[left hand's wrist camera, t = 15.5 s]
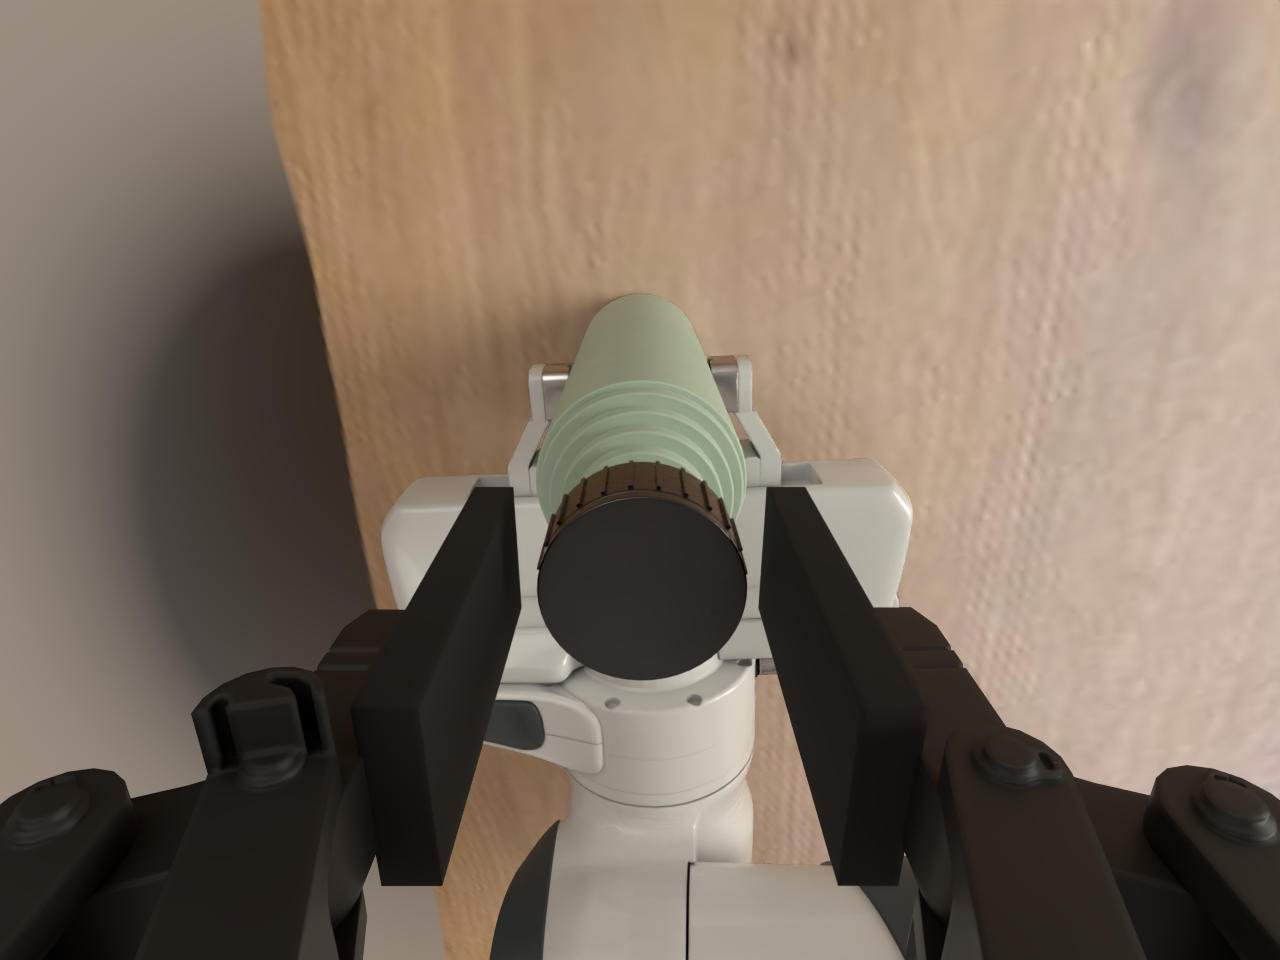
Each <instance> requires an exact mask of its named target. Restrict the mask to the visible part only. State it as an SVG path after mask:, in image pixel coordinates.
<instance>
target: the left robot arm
mask: <svg viewBox="0 0 1280 960" xmlns="http://www.w3.org/2000/svg"><path fill="white" fill-rule="evenodd" d="M521 609H522V604H521V590H520V575H519V561H518V546H517V532H516V517H515V502H514V488H513V487H474V489H473V491H472V492H471V494H470V496H469V498H468V499H467V501H466V503H465V505H464V506H463V508H462V510H461V512H460V514H459V515H458V517H457V519H456V521H455V522H454V524H453V526H452V528H451V529H450V531H449V533H448V535H447V537H446V538H445V540H444V542H443V544H442V545H441V547H440V549H439V551H438V552H437V554H436V556H435V558H434V560H433V561H432V563H431V565H430V567H429V568H428V570H427V572H426V574H425V575H424V577H423V579H422V581H421V582H420V584H419V586H418V588H417V590H416V591H415V593H414V595H413V597H412V598H411V600H410V602H409V604H408V605H407V607H406V609H405V610H368V611H367V612H365V613H364V614H362V615H361V616H360V617H358V618H357V619H355V620H354V621H353V622H351V623H350V624H348V625H347V626H346V627H344V628H343V630H342V631H341V633H340V634H339V636H338V637H337V639H336V640H335V642H334V643H333V644H332V646H331V647H330V652H329V653H326V655H325V656H324V658H323V659H322V661H321V662H320V664H319V665H318V670H317V671H314V672H312V671H308V670H304V669H300V668H296V667H277V668H268V669H264V670H260V671H255V672H251V673H247V674H245V675H242V676H240V677H238V678H235V679H233V680H231V681H229V682H226V683H224V684H222V685H221V686H219V687H218V688H217V689H215V690H214V691H212V692H211V693H210V694H208V695H207V696H205V697H204V698H203V699H202V700H201V702H200V703H199V704H198V705H197V707H196V708H195V709H194V710H193V712H192V713H191V715H192V718H193V722H194V726H195V729H196V733H197V736H198V740H199V744H200V747H201V751H202V754H203V758H204V762H205V765H206V769H207V773H208V775H207V778H206V780H204V781H201V782H198V783H195V784H191V785H188V786H183V787H179V788H175V789H171V790H166V791H162V792H157V793H153V794H148V795H144V796H140V797H136V798H130V795H129V792H128V789H127V786H126V783H125V781H124V780H123V779H122V778H121V777H120V776H119V775H117V774H116V773H115V772H114V771H108V770H102V769H95V768H93V769H85V770H78V771H70V772H66V773H63V774H60V775H57V776H54V777H51V778H48V779H45V780H42V781H39V782H37V783H35V784H33V785H32V786H30V787H28V788H26V789H24V790H22V791H20V792H18V793H16V794H15V795H13V796H11V797H9V798H8V799H7V800H5V801H4V802H3V803H2V804H0V960H363V951H364V942H365V932H366V922H367V913H366V906H365V899H364V894H363V889H362V887H363V885H364V882H365V880H366V877H367V875H368V872H369V870H370V867H371V865H372V862H373V860H374V857H375V855H376V858H377V863H378V869H379V875H380V880H381V885H382V886H442V885H443V881H444V878H445V874H446V871H447V867H448V864H449V860H450V857H451V853H452V850H453V846H454V843H455V839H456V836H457V832H458V829H459V825H460V822H461V818H462V815H463V811H464V808H465V804H466V801H467V797H468V794H469V790H470V787H471V783H472V780H473V776H474V773H475V769H476V766H477V762H478V759H479V755H480V752H481V748H482V745H483V741H484V738H485V734H486V731H487V727H488V724H489V720H490V717H491V713H492V710H493V706H494V703H495V699H496V696H497V692H498V689H499V686H500V682H501V679H502V675H503V672H504V668H505V665H506V661H507V658H508V654H509V651H510V647H511V644H512V640H513V637H514V633H515V630H516V626H517V623H518V619H519V616H520V612H521ZM758 609H759V612H760V616H761V619H762V623H763V626H764V630H765V633H766V637H767V640H768V644H769V647H770V651H771V654H772V658H773V661H774V665H775V668H776V672H777V675H778V679H779V682H780V686H781V689H782V693H783V696H784V700H785V703H786V706H787V710H788V713H789V717H790V720H791V724H792V727H793V731H794V734H795V738H796V741H797V745H798V748H799V752H800V755H801V759H802V762H803V766H804V769H805V773H806V776H807V780H808V783H809V787H810V790H811V794H812V797H813V801H814V804H815V808H816V811H817V815H818V818H819V822H820V825H821V829H822V832H823V836H824V839H825V843H826V846H827V850H828V853H829V857H830V860H831V864H832V867H833V871H834V874H835V878H836V881H837V885H838V886H899V880H900V875H901V869H902V863H903V858H904V852H905V854H906V856H907V859H908V861H909V864H910V866H911V869H912V871H913V874H914V876H915V879H916V881H917V884H918V889H917V894H916V899H915V905H914V910H913V915H912V920H911V925H910V930H909V936H908V941H907V947H906V954H905V960H915V956H916V951H917V960H1280V800H1279V799H1278V798H1276V797H1275V796H1274V795H1272V794H1271V793H1269V792H1267V791H1265V790H1263V789H1261V788H1259V787H1258V786H1256V785H1254V784H1252V783H1250V782H1248V781H1246V780H1244V779H1242V778H1239V777H1236V776H1234V775H1231V774H1227V773H1225V772H1221V771H1218V770H1215V769H1212V768H1204V767H1197V766H1189V765H1185V766H1179V767H1172V768H1167V769H1166V770H1165V771H1164V772H1162V773H1161V774H1160V775H1159V776H1158V777H1157V778H1156V780H1155V783H1154V786H1153V789H1152V792H1151V795H1146V794H1141V793H1137V792H1132V791H1128V790H1123V789H1119V788H1115V787H1110V786H1106V785H1101V784H1097V783H1093V782H1089V781H1086V780H1083V779H1079V778H1076V777H1073V774H1072V772H1071V771H1070V769H1069V768H1068V766H1067V765H1066V763H1065V762H1064V760H1063V759H1062V758H1061V756H1059V755H1058V754H1057V753H1056V752H1055V751H1053V750H1052V749H1051V748H1050V747H1048V746H1047V745H1046V744H1045V743H1043V742H1042V741H1040V740H1038V739H1036V738H1034V737H1032V736H1030V735H1028V734H1026V733H1024V732H1022V731H1020V730H1016V729H1012V728H1009V727H1006V726H1005V724H1004V723H1003V721H1002V720H1001V718H1000V717H999V716H998V714H997V713H996V711H995V710H994V708H993V707H992V705H991V704H990V702H989V701H988V700H987V698H986V697H985V695H984V694H983V692H982V691H981V689H980V688H979V686H978V685H977V684H976V682H975V681H974V679H973V678H972V676H971V675H970V673H969V672H968V671H967V669H966V668H963V663H962V662H961V660H960V659H959V657H958V656H957V655H956V653H955V652H954V650H951V646H950V644H949V643H948V641H947V640H946V639H945V637H944V636H943V634H942V633H941V631H940V630H939V628H938V627H937V625H935V624H934V623H932V622H931V621H930V620H928V619H927V618H925V617H924V616H923V615H921V614H920V613H918V612H917V611H915V610H914V609H913V608H911V607H873V605H872V604H871V602H870V600H869V598H868V597H867V595H866V593H865V591H864V590H863V588H862V586H861V584H860V583H859V581H858V579H857V577H856V575H855V574H854V572H853V570H852V568H851V567H850V565H849V563H848V561H847V560H846V558H845V556H844V554H843V552H842V551H841V549H840V547H839V545H838V544H837V542H836V540H835V538H834V537H833V535H832V533H831V531H830V529H829V528H828V526H827V524H826V522H825V521H824V519H823V517H822V515H821V514H820V512H819V510H818V508H817V507H816V505H815V503H814V501H813V499H812V498H811V496H810V494H809V492H808V491H807V489H806V487H767V488H766V502H765V517H764V531H763V546H762V561H761V575H760V590H759V604H758Z"/></svg>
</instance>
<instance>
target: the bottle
mask: <svg viewBox="0 0 1280 960" xmlns="http://www.w3.org/2000/svg"><path fill="white" fill-rule="evenodd" d="M630 460H634V462H654V463H655V462H656V461H660V463H661V464H665V465H670V466H673V467H676V468H679V469H681V467H682V468H684V469H685V471H686V472H688V473H690V474H692V475H693V476H695V477H696V478H698V479H699V480H701V481H703V480H705V481H706V482H707V485H708V487H709V488H710V489H712V490H713V492H714V493H715V494H716V495H717V496H718V497H719V498H721V497H722V498H723V500H724V503H725V506H726V510H727V512H728V514H729V516H730V518H734V521H735V523H736V521H737V518H738V516H739V513H740V511H741V508H742V505H743V502H744V498H745V492H746V486H747V471H746V463H745V458H744V454H743V450H742V447H741V444H740V442H739V440H738V437H737V435H736V432H735V430H734V427H733V425H732V422H731V420H730V417H729V415H728V412H727V410H726V407H725V405H724V403H723V400H722V398H721V395H720V393H719V390H718V388H717V385H716V383H715V380H714V378H713V375H712V373H711V370H710V368H709V365H708V363H707V361H706V358H705V356H704V353H703V351H702V348H701V346H700V343H699V341H698V338H697V336H696V333H695V331H694V329H693V326H692V324H691V323H690V321H689V319H688V318H687V317H686V316H685V314H684V313H683V312H682V311H681V310H680V309H679V308H678V307H676V306H675V305H674V304H672V303H671V302H669V301H667V300H665V299H663V298H660V297H658V296H653V295H648V294H633V295H627V296H624V297H620V298H618V299H616V300H614V301H612V302H610V303H609V304H607V305H606V306H604V307H603V308H602V309H601V310H600V311H599V312H598V313H597V314H596V315H595V316H594V318H593V319H592V321H591V322H590V324H589V326H588V328H587V330H586V333H585V335H584V338H583V341H582V343H581V346H580V348H579V351H578V353H577V356H576V359H575V361H574V364H573V366H572V369H571V371H570V374H569V377H568V379H567V382H566V384H565V387H564V389H563V392H562V395H561V397H560V400H559V402H558V405H557V407H556V410H555V413H554V415H553V418H552V420H551V423H550V426H549V428H548V431H547V433H546V436H545V438H544V441H543V444H542V447H541V450H540V453H539V456H538V461H537V467H536V488H537V495H538V499H539V503H540V507H541V509H542V512H543V514H544V517H545V519H546V521H547V524H548V525H549V521H550V517H551V515H552V513H553V514H555V513H556V511H557V509H558V507H559V506H560V504H561V502H562V498H563V495H564V494H565V493H566V494H567V495H568V494H569V492H570V491H571V490H572V489H573V488H574V487H575V486H577V485H578V484H579V483H580V482H581V479H582V478H583V477H585V478H587V477H589V476H591V475H592V474H594V473H596V472H598V471H600V470H603V468H604V467H605V466H608V467H611V466H615V465H618V464H623V463H629V461H630Z"/></svg>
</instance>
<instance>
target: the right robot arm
mask: <svg viewBox="0 0 1280 960" xmlns="http://www.w3.org/2000/svg"><path fill="white" fill-rule="evenodd" d="M707 363H708V365H709V368H710V370H711V373H712V375H713V378H714V380H715V383H716V385H717V388H718V390H719V393H720V395H721V398H722V400H723V403H724V405H725V407H726V410H727V412H734V414H735V416H736V417H737V419H738V420H739V422H740V424H741V425H742V427H743V429H744V430H745V432H746V434H747V435H748V437H749V439H750V440H751V441H750V440H740V441H739V442H740V444H741V447H742V450H743V454H744V458H745V463H746V471H747V486H746V492H745V498H744V502H743V505H742V508H741V511H740V513H739V516H738V518H737V521H736V523H735V524H736V527H737V531H738V534H739V538H740V541H741V544H742V548H743V551H742V554H743V557H744V560H745V564H746V567H747V571H748V575H746V578H747V599H746V605H745V609H744V612H743V615H742V618H741V621H740V623H739V625H738V627H737V629H736V631H735V632H734V634H733V635H732V636H731V638H730V639H729V641H728V642H727V643H726V644H725V645H724V646H723V648H722V649H721V650H720V651H719V652H717V653H716V654H715V655H714V656H713V657H712V658H710V659H709V660H707V661H706V662H704V663H703V664H701V665H700V666H698V667H696V668H694V669H692V670H690V671H688V672H685V673H682V674H680V675H677V676H673V677H669V678H665V679H658V680H645V681H637V680H625V679H620V678H615V677H611V676H608V675H604V674H601V673H599V672H597V671H594V670H592V669H590V668H588V667H586V666H584V665H583V664H581V663H579V662H578V661H577V660H575V659H574V658H573V657H571V656H570V655H569V654H568V653H567V652H565V651H564V650H563V649H562V648H561V647H560V646H559V644H558V643H557V642H556V641H555V639H554V638H553V637H552V635H551V633H550V632H549V630H548V628H547V627H546V625H545V623H544V620H543V618H542V615H541V612H540V608H539V604H538V597H537V578H538V573H539V570H537V565H538V561H539V557H540V554H541V550H542V546H543V543H544V539H545V536H546V532H547V528H548V524H547V521H546V519H545V517H544V514H543V512H542V509H541V507H540V503H539V499H538V495H537V488H536V467H537V461H538V456H539V453H540V450H541V449H538V450H537V451H536V449H537V447H538V445H539V443H540V440H541V438H542V436H543V434H544V432H545V430H546V428H547V426H548V424H549V422H550V420H552V418H553V415H554V413H555V410H556V407H557V405H558V402H559V400H560V397H561V395H562V392H563V389H564V387H565V384H566V382H567V379H568V377H569V374H570V371H571V369H572V364H571V363H560V364H534V365H532V367H531V368H530V370H529V383H528V384H529V394H530V403H531V413H532V416H531V418H530V420H529V422H528V425H527V427H526V429H525V431H524V433H523V435H522V437H521V439H520V441H519V443H518V446H517V448H516V450H515V452H514V454H513V456H512V458H511V460H510V462H509V464H508V467H507V470H508V474H490V475H467V476H443V477H424V478H419V479H417V480H415V481H414V482H412V483H411V484H410V485H409V486H408V488H407V489H406V490H405V491H404V492H403V493H402V494H401V495H400V496H399V497H398V499H397V500H396V501H395V503H394V504H393V506H392V507H391V508H390V510H389V512H388V513H387V515H386V517H385V519H384V521H383V524H382V528H381V544H382V551H383V556H384V561H385V566H386V570H387V574H388V578H389V582H390V586H391V589H392V593H393V596H394V600H395V603H396V606H397V609H398V610H405V609H406V607H407V605H408V604H409V602H410V600H411V598H412V597H413V595H414V593H415V591H416V590H417V588H418V586H419V584H420V582H421V581H422V579H423V577H424V575H425V574H426V572H427V570H428V568H429V567H430V565H431V563H432V561H433V560H434V558H435V556H436V554H437V552H438V551H439V549H440V547H441V545H442V544H443V542H444V540H445V538H446V537H447V535H448V533H449V531H450V529H451V528H452V526H453V524H454V522H455V521H456V519H457V517H458V515H459V514H460V512H461V510H462V508H463V506H464V505H465V503H466V501H467V499H468V498H469V496H470V494H471V492H472V491H473V489H474V487H513V488H514V502H515V517H516V532H517V546H518V561H519V575H520V590H521V604H522V609H521V612H520V616H519V619H518V623H517V626H516V630H515V633H514V637H513V640H512V644H511V647H510V651H509V654H508V658H507V661H506V665H505V668H504V672H503V675H502V679H501V682H500V686H499V689H498V692H497V696H496V699H495V703H494V706H493V710H492V713H491V717H490V720H489V724H488V727H487V731H486V734H485V738H484V741H483V744H485V745H489V746H494V747H498V748H502V749H506V750H510V751H514V752H518V753H522V754H526V755H529V756H533V757H536V758H539V759H542V760H545V761H548V762H551V763H554V764H556V765H559V766H562V767H564V768H565V770H566V773H567V776H568V778H569V782H570V792H569V795H568V800H567V811H566V819H565V820H563V821H560V820H558V821H556V822H555V823H554V824H553V825H552V826H551V827H550V828H549V829H548V830H547V831H546V832H545V833H544V835H543V836H542V837H541V838H540V840H539V841H538V842H537V844H536V845H535V846H534V848H533V849H532V851H531V852H530V853H529V855H528V856H527V858H526V859H525V860H524V862H523V863H522V865H521V866H520V867H519V869H518V870H517V872H516V874H515V875H514V877H513V879H512V881H511V883H510V886H509V888H508V890H507V893H506V895H505V898H504V900H503V903H502V906H501V909H500V913H499V916H498V920H497V924H496V928H495V933H494V937H493V943H492V948H491V954H490V960H905V954H906V947H907V941H908V936H909V930H910V925H911V920H912V915H913V910H914V905H915V899H916V894H917V889H918V884H917V881H916V879H915V876H914V874H913V871H912V869H911V866H910V864H909V861H908V859H907V856H904V858H903V863H902V869H901V875H900V880H899V886H838V885H837V881H836V878H835V874H834V871H833V867H832V864H831V861H826V862H824V863H821V865H794V864H761V863H751V858H752V844H753V804H752V798H751V794H750V790H749V787H748V784H747V782H746V779H745V776H746V774H747V771H748V769H749V766H750V763H751V760H752V756H753V751H754V738H755V677H757V675H771V674H777V672H776V668H775V665H774V661H773V658H772V654H771V651H770V647H769V644H768V640H767V637H766V633H765V630H764V626H763V623H762V619H761V616H760V612H759V609H758V604H759V590H760V575H761V561H762V546H763V531H764V517H765V502H766V488H767V487H806V489H807V491H808V492H809V494H810V496H811V498H812V499H813V501H814V503H815V505H816V507H817V508H818V510H819V512H820V514H821V515H822V517H823V519H824V521H825V522H826V524H827V526H828V528H829V529H830V531H831V533H832V535H833V537H834V538H835V540H836V542H837V544H838V545H839V547H840V549H841V551H842V552H843V554H844V556H845V558H846V560H847V561H848V563H849V565H850V567H851V568H852V570H853V572H854V574H855V575H856V577H857V579H858V581H859V583H860V584H861V586H862V588H863V590H864V591H865V593H866V595H867V597H868V598H869V600H870V602H871V604H872V605H873V607H899V605H900V603H899V596H898V593H897V589H898V586H899V582H900V579H901V575H902V571H903V567H904V563H905V558H906V553H907V548H908V543H909V537H910V532H911V525H912V518H913V509H912V504H911V501H910V499H909V497H908V495H907V494H906V492H905V491H904V489H903V488H902V487H901V485H900V484H899V483H898V482H897V480H896V479H895V478H894V477H893V476H892V475H891V474H890V473H889V472H887V471H886V470H885V469H884V468H883V467H882V466H881V465H880V464H879V463H878V462H876V461H874V460H872V459H867V458H859V459H838V460H814V461H791V462H781V454H780V452H779V450H778V448H777V447H776V445H775V443H774V441H773V439H772V437H771V436H770V434H769V432H768V431H767V429H766V427H765V426H764V424H763V422H762V421H761V419H760V417H759V415H758V414H757V412H756V410H755V409H754V407H753V405H752V366H751V360H750V359H749V357H748V356H747V355H734V356H733V355H729V356H712V357H708V360H707ZM915 960H917V951H916V956H915Z"/></svg>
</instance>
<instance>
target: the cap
mask: <svg viewBox="0 0 1280 960" xmlns="http://www.w3.org/2000/svg"><path fill="white" fill-rule="evenodd" d="M742 551H743V548H742V544H741V541H740V538H739V534H738V531H737V527H736V524H735V521H734V518H730V516H729V514H728V512H727V510H726V506H725V503H724V500H723V498H722V497H721V498H719V497H718V496H717V495H716V494H715V493H714V492H713V490H712V489H710V488H709V487H708V485H707V482H706V481H705V480H703V481H701V480H699V479H698V478H696V477H695V476H693V475H692V474H690V473H688V472H686V471H685V469H684V468H682V467H681V469H679V468H676V467H673V466H670V465H665V464H661V463H660V461H656V462H655V463H654V462H634V460H630V461H629V463H623V464H618V465H615V466H611V467H608V466H605V467H604V468H603V470H600V471H598V472H596V473H594V474H592V475H591V476H589V477H587V478H585V477H583V478H582V479H581V482H580V483H579V484H578V485H577V486H575V487H574V488H573V489H572V490H571V491H570V492H569V494H568V495H567V494H566V493H565V494H564V495H563V498H562V502H561V504H560V506H559V507H558V509H557V511H556V513H555V514H553V513H552V515H551V517H550V521H549V525H548V528H547V532H546V536H545V539H544V543H543V546H542V550H541V554H540V557H539V561H538V565H537V570H539V573H538V578H537V597H538V604H539V608H540V612H541V615H542V618H543V620H544V623H545V625H546V627H547V628H548V630H549V632H550V633H551V635H552V637H553V638H554V639H555V641H556V642H557V643H558V644H559V646H560V647H561V648H562V649H563V650H564V651H565V652H567V653H568V654H569V655H570V656H571V657H573V658H574V659H575V660H577V661H578V662H579V663H581V664H583V665H584V666H586V667H588V668H590V669H592V670H594V671H597V672H599V673H601V674H604V675H608V676H611V677H615V678H620V679H625V680H637V681H645V680H658V679H665V678H669V677H673V676H677V675H680V674H682V673H685V672H688V671H690V670H692V669H694V668H696V667H698V666H700V665H701V664H703V663H704V662H706V661H707V660H709V659H710V658H712V657H713V656H714V655H715V654H716V653H717V652H719V651H720V650H721V649H722V648H723V646H724V645H725V644H726V643H727V642H728V641H729V639H730V638H731V636H732V635H733V634H734V632H735V631H736V629H737V627H738V625H739V623H740V621H741V618H742V615H743V612H744V609H745V605H746V599H747V578H746V575H748V571H747V567H746V564H745V560H744V557H743V554H742Z"/></svg>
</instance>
